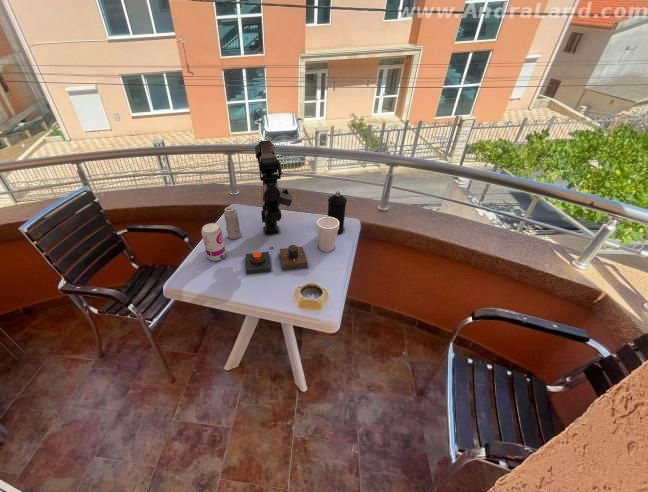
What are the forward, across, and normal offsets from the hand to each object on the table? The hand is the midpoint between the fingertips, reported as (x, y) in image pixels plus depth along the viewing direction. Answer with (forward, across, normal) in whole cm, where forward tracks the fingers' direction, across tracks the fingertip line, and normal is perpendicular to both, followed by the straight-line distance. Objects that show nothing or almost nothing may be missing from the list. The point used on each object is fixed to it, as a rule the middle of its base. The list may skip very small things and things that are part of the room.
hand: (272, 222), depth 136 cm
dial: (+10, -11, -7) cm, 16 cm away
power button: (+9, -11, +8) cm, 17 cm away
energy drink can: (+13, +12, +18) cm, 25 cm away
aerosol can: (+13, +9, -30) cm, 34 cm away
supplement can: (+13, -2, +26) cm, 29 cm away
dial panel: (+13, -11, -7) cm, 18 cm away
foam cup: (+13, -4, -23) cm, 27 cm away
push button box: (+13, -11, +8) cm, 19 cm away
